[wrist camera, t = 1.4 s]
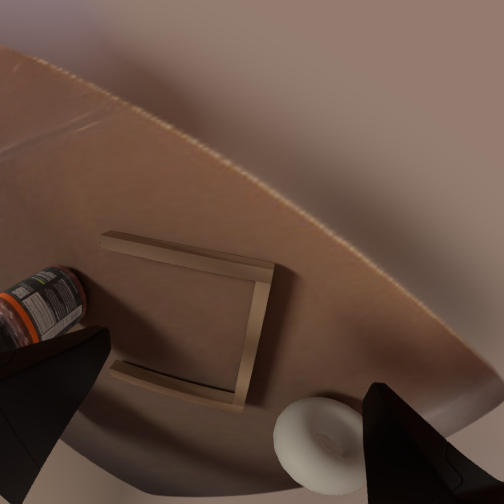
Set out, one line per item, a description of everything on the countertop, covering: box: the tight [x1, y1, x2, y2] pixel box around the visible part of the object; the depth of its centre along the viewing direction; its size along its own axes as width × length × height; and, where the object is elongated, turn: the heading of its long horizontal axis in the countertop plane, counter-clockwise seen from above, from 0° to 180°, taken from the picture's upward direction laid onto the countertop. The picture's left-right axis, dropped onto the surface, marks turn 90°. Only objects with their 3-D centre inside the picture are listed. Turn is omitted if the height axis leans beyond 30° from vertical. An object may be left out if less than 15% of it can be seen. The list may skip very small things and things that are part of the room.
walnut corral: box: [100, 231, 275, 414], centre depth 22 cm, size 14×13×2 cm
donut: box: [273, 397, 367, 495], centre depth 19 cm, size 10×4×10 cm, turn 64°
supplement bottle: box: [0, 265, 87, 352], centre depth 18 cm, size 6×6×11 cm
